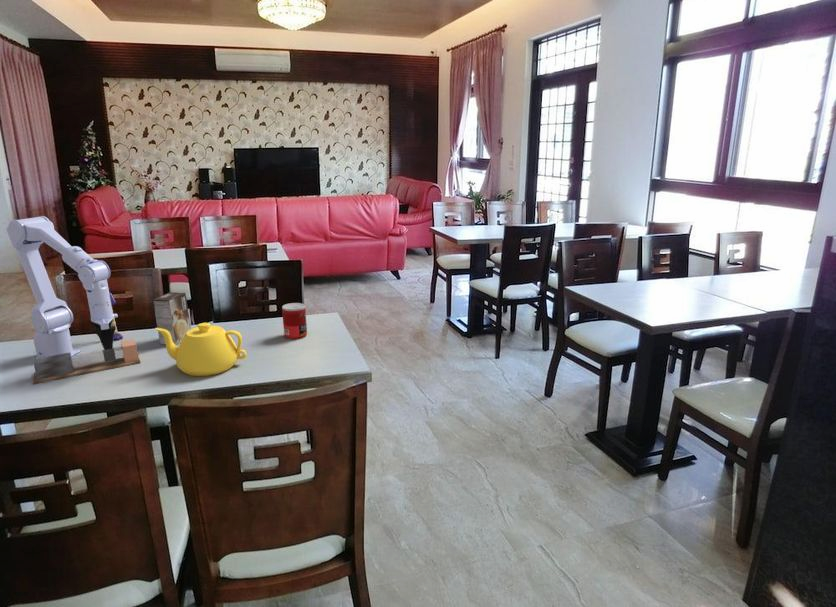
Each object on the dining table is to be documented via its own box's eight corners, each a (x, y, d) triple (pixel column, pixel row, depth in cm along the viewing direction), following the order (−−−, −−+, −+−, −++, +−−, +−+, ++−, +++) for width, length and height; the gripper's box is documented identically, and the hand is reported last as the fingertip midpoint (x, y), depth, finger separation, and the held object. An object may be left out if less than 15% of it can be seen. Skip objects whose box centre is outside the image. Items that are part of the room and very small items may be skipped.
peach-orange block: (125, 362, 167) (122, 347, 165) (123, 357, 171) (120, 341, 170) (138, 360, 169) (136, 344, 167) (136, 354, 173) (134, 339, 172)
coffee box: (176, 335, 192) (169, 291, 187) (192, 336, 190) (186, 292, 186) (159, 344, 183) (152, 299, 178) (176, 345, 182) (169, 300, 177)
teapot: (153, 381, 155) (145, 337, 151) (169, 358, 172) (163, 317, 168) (243, 375, 159) (238, 331, 155) (251, 353, 176) (247, 312, 172)
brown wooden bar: (33, 384, 154) (29, 366, 152) (34, 374, 160) (30, 357, 159) (140, 363, 168) (137, 346, 166) (137, 354, 174) (134, 339, 173)
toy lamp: (112, 342, 185) (103, 295, 180) (104, 340, 187) (95, 293, 183) (125, 338, 189) (117, 292, 184) (117, 335, 191) (109, 290, 187)
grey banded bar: (62, 369, 159) (60, 360, 158) (61, 366, 161) (60, 357, 160) (134, 356, 169) (132, 347, 168) (132, 353, 171) (131, 344, 170)
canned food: (304, 339, 187) (302, 309, 184) (281, 339, 187) (279, 309, 184) (309, 332, 194) (307, 302, 191) (287, 332, 194) (284, 302, 191)
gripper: (117, 306, 158) (124, 349, 162) (112, 294, 169) (119, 335, 173) (89, 310, 154) (97, 354, 158) (86, 298, 166) (94, 339, 170)
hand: (107, 345), depth 165 cm, fingers open, 7 cm apart
